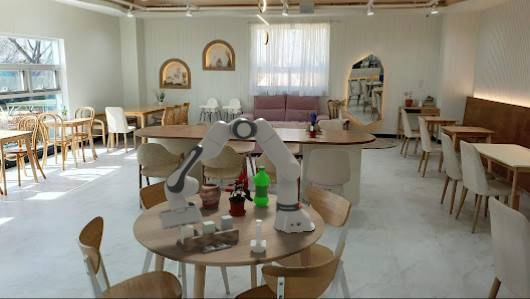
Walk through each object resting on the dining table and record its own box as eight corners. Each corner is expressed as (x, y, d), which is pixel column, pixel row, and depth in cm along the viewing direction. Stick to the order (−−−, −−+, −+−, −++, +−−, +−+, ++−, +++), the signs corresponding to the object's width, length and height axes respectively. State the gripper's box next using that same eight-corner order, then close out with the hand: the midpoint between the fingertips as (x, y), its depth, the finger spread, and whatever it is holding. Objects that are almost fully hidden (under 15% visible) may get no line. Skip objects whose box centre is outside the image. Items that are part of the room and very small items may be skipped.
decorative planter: (209, 200, 260) (209, 179, 257) (226, 202, 256) (226, 181, 253) (195, 209, 241) (194, 187, 238) (213, 212, 237) (213, 189, 235)
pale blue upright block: (229, 229, 207) (229, 215, 206) (232, 232, 204) (232, 217, 202) (220, 231, 205) (220, 216, 203) (223, 234, 201) (223, 219, 200)
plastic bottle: (249, 206, 249) (250, 167, 245) (259, 201, 258) (260, 164, 253) (262, 209, 244) (263, 169, 239) (272, 205, 252) (273, 166, 247)
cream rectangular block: (190, 240, 194) (190, 224, 192) (193, 243, 190) (193, 227, 189) (181, 242, 191) (180, 226, 190) (183, 245, 188) (183, 229, 186)
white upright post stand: (266, 246, 193) (266, 216, 190) (265, 255, 183) (266, 224, 180) (251, 245, 193) (251, 216, 190) (250, 254, 183) (250, 224, 180)
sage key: (212, 235, 199) (211, 220, 198) (215, 238, 196) (215, 223, 194) (202, 237, 197) (202, 222, 195) (205, 240, 193) (205, 225, 192)
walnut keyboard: (228, 231, 210) (228, 221, 208) (244, 244, 194) (244, 233, 193) (176, 241, 196) (176, 231, 195) (189, 256, 180) (189, 245, 179)
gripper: (158, 208, 191) (165, 235, 185) (199, 202, 202) (206, 227, 195) (156, 214, 196) (163, 240, 190) (196, 208, 206) (203, 232, 200)
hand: (185, 233), depth 192 cm, fingers closed, pressing on cream rectangular block
